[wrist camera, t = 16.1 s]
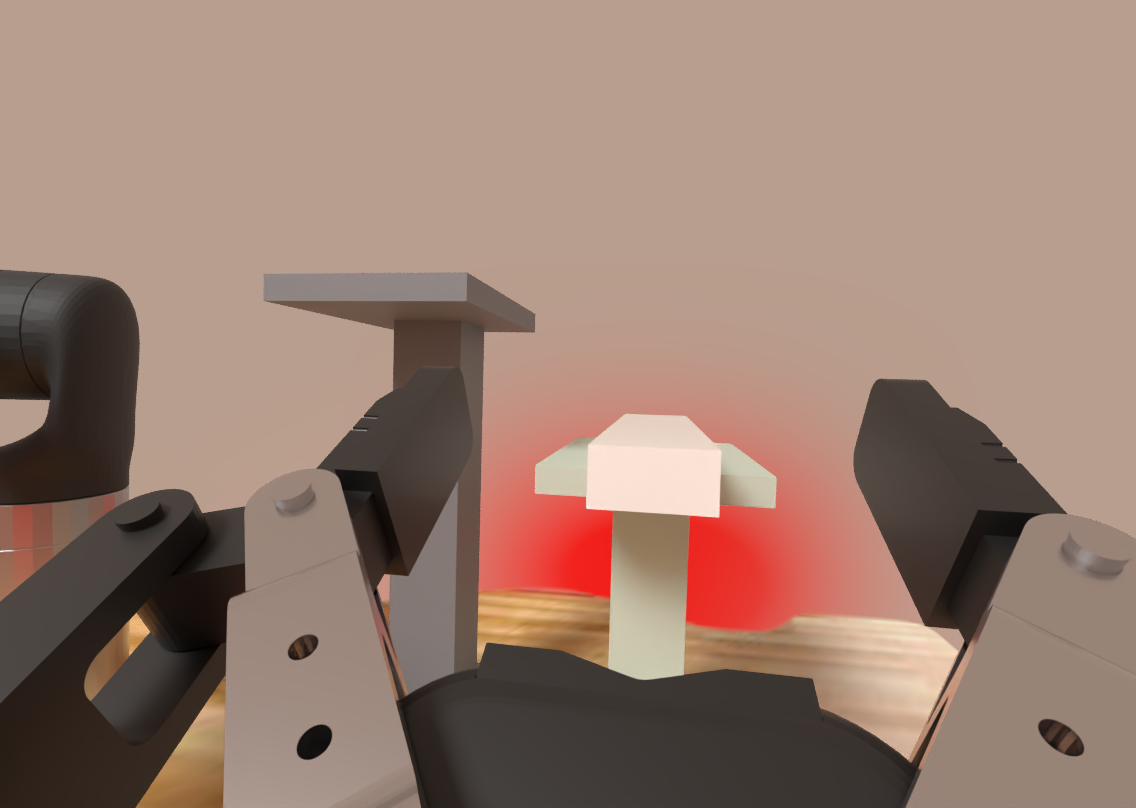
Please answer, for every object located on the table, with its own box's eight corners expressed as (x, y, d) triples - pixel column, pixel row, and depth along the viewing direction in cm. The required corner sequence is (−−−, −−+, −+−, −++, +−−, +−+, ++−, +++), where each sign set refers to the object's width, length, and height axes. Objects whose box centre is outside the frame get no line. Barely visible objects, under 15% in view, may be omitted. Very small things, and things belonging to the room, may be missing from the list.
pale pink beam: (719, 517, 18) (721, 450, 17) (586, 508, 18) (587, 444, 18) (684, 446, 39) (685, 416, 39) (624, 443, 40) (625, 413, 40)
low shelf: (779, 918, 27) (798, 478, 26) (507, 869, 29) (517, 463, 28) (730, 706, 44) (740, 442, 44) (564, 686, 47) (571, 434, 46)
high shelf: (472, 863, 29) (485, 272, 28) (244, 822, 31) (248, 274, 30) (542, 683, 47) (551, 317, 46) (393, 665, 49) (399, 316, 48)
